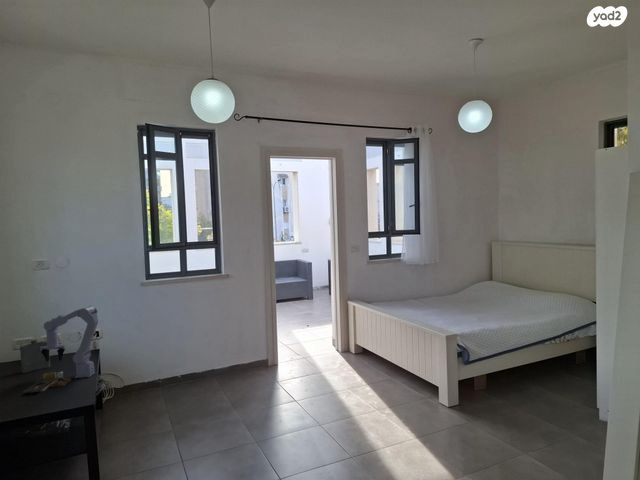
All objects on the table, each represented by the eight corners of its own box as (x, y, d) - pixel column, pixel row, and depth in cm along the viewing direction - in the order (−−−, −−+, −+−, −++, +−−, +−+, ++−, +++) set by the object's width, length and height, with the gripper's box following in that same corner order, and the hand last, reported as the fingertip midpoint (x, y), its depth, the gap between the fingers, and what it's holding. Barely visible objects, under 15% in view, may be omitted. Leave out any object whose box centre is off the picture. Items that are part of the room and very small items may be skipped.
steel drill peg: (64, 382, 256) (64, 370, 255) (63, 384, 252) (62, 372, 252) (58, 383, 254) (57, 371, 254) (56, 385, 251) (55, 373, 251)
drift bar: (43, 379, 258) (43, 373, 258) (57, 378, 259) (56, 372, 259) (23, 392, 238) (22, 386, 238) (37, 391, 239) (37, 384, 239)
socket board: (54, 383, 255) (54, 381, 255) (43, 392, 243) (43, 389, 243) (39, 385, 255) (39, 382, 254) (26, 393, 243) (26, 390, 242)
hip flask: (22, 373, 277) (19, 343, 276) (21, 371, 280) (18, 342, 279) (50, 366, 288) (48, 337, 287) (49, 365, 291) (47, 336, 290)
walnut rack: (71, 381, 258) (70, 378, 258) (64, 386, 250) (63, 383, 250) (57, 382, 257) (57, 379, 257) (50, 387, 249) (49, 384, 249)
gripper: (67, 336, 271) (69, 357, 272) (44, 338, 270) (45, 359, 271) (61, 339, 264) (63, 361, 265) (37, 341, 263) (39, 363, 264)
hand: (54, 360), depth 267 cm, fingers open, 7 cm apart
